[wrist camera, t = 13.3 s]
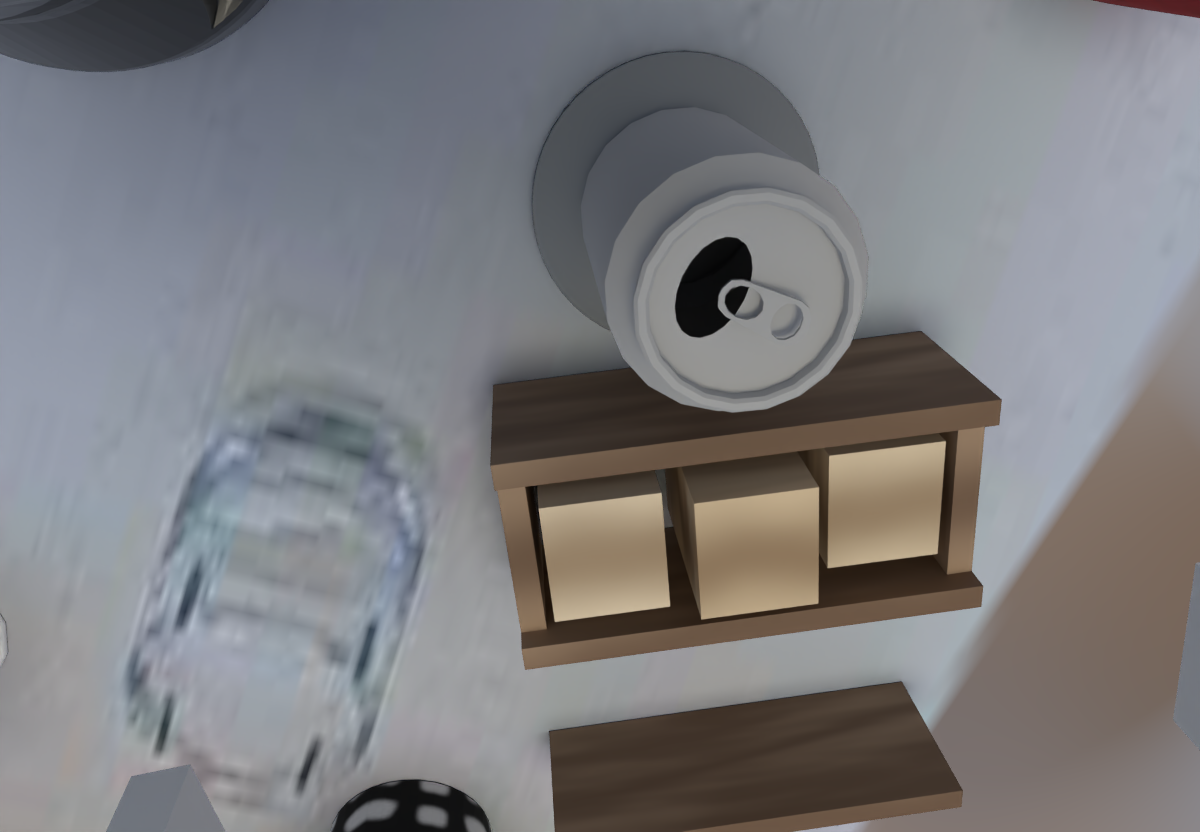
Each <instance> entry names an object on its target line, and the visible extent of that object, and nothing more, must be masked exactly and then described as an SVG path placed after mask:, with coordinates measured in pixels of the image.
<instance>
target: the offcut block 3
mask: <svg viewBox="0 0 1200 832" xmlns="http://www.w3.org/2000/svg"><path fill="white" fill-rule="evenodd" d="M945 447H946V441H945V440H944V439H943V438H942V436H941V435H940V434H939V433H934V434H927V435H919V436H911V437H904V438H896V439H888V440H881V441H873V442H865V443H858V444H850V445H842V446H835V447H827V448H819V449H812V450H804V451H797V452H798V454H799V455H800V457H801V459H802V460H803V462H804V463H805V465H806V467H807V468H808V470H809V472H810V473H811V475H812V477H813V478H814V480H815V481H816V483H817V485H818V486H819V553H820V555H821V557H822V559H823V561H824V563H825V564H826V566H827V568H834V567H841V566H849V565H856V564H864V563H871V562H879V561H887V560H894V559H902V558H909V557H917V556H925V555H932V554H937V553H938V540H939V527H940V514H941V500H942V487H943V474H944V461H945Z"/></svg>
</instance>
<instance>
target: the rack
mask: <svg viewBox="0 0 1200 832" xmlns="http://www.w3.org/2000/svg"><path fill="white" fill-rule="evenodd" d="M1001 401H1002V399H1000V398H999V397H998V396H997V395H996V394H995V393H993V392H992V391H991V390H990V389H989V388H987V387H986V386H985V385H984V384H983V383H982V382H980V381H979V380H978V379H977V378H976V377H975V376H973V375H972V374H971V373H970V372H969V371H968V370H966V369H965V368H964V367H963V366H962V365H961V364H959V363H958V362H957V361H956V360H955V359H954V358H952V357H951V356H950V355H949V354H948V353H946V352H945V351H944V350H943V349H942V348H941V347H939V346H938V345H937V344H936V343H935V342H934V341H932V340H931V339H930V338H929V337H928V336H927V335H925V334H924V333H923V332H922V331H919V332H911V333H903V334H895V335H887V336H879V337H871V338H863V339H855V340H852V342H851V344H850V346H849V348H848V349H847V350H846V352H845V353H844V354H843V356H842V357H841V358H840V360H839V361H838V362H837V363H836V365H835V366H834V367H833V369H832V370H831V371H830V373H829V374H828V375H827V376H825V377H824V378H823V379H821V380H820V381H819V382H818V383H816V384H815V385H814V386H812V387H811V388H810V389H808V390H807V391H806V392H804V393H803V394H802V395H800V396H799V397H796V398H794V399H791V400H788V401H786V402H783V403H781V404H778V405H776V406H773V407H771V408H768V409H763V410H753V411H743V412H734V413H732V412H727V411H715V410H710V409H705V408H700V407H694V406H689V405H684V404H680V403H679V402H677V401H675V400H673V399H671V398H669V397H668V396H666V395H664V394H662V393H660V392H659V391H657V390H655V389H653V388H651V387H650V386H648V385H647V384H646V383H645V382H644V381H643V380H642V379H641V377H640V376H639V375H638V374H637V373H636V372H635V371H634V370H633V369H632V368H625V369H617V370H609V371H601V372H593V373H585V374H577V375H569V376H562V377H554V378H546V379H538V380H530V381H522V382H514V383H506V384H498V385H493V407H492V435H491V463H490V466H491V472H492V478H493V484H494V490H495V491H498V497H499V503H500V509H501V515H502V521H503V527H504V533H505V539H506V545H507V551H508V557H509V562H510V568H511V574H512V580H513V586H514V592H515V598H516V604H517V610H518V616H519V622H520V628H521V640H522V654H523V660H524V666H525V670H527V669H534V668H542V667H549V666H556V665H563V664H571V663H578V662H585V661H592V660H600V659H607V658H614V657H621V656H629V655H636V654H643V653H650V652H658V651H665V650H672V649H679V648H687V647H694V646H701V645H708V644H716V643H723V642H730V641H737V640H745V639H752V638H759V637H766V636H774V635H781V634H788V633H795V632H802V631H810V630H817V629H824V628H831V627H839V626H846V625H853V624H860V623H868V622H875V621H882V620H889V619H897V618H904V617H911V616H918V615H926V614H933V613H940V612H947V611H955V610H962V609H969V608H976V607H981V603H982V593H983V585H982V584H981V583H980V581H979V580H978V579H977V577H976V576H975V575H974V574H973V572H972V561H973V550H974V539H975V528H976V517H977V507H978V496H979V485H980V474H981V463H982V452H983V441H984V430H985V427H988V426H996V425H999V421H1000V411H1001ZM934 433H939V434H940V435H941V436H942V438H943V439H944V440H945V441H946V447H945V461H944V474H943V487H942V500H941V514H940V527H939V540H938V553H937V554H932V555H925V556H917V557H909V558H902V559H894V560H887V561H879V562H871V563H864V564H856V565H849V566H841V567H834V568H827V566H826V564H825V563H824V561H823V559H822V557H821V555H820V553H819V589H818V604H811V605H804V606H797V607H789V608H782V609H775V610H767V611H760V612H753V613H745V614H738V615H731V616H723V617H716V618H709V619H702V620H701V616H700V613H699V610H698V606H697V603H696V600H695V597H694V593H693V590H692V587H691V583H690V580H689V577H688V573H687V570H686V567H685V563H684V560H683V557H682V553H681V550H680V547H679V543H678V540H677V537H676V534H675V530H674V527H671V528H664V531H665V544H666V557H667V570H668V583H669V596H670V607H663V608H656V609H648V610H641V611H633V612H626V613H618V614H611V615H603V616H596V617H588V618H581V619H573V620H566V621H559V622H555V619H554V612H553V605H552V599H551V592H550V585H549V578H548V571H547V564H546V557H545V550H544V544H543V545H542V543H541V536H540V530H539V523H538V516H537V509H536V503H535V496H534V489H533V486H535V485H543V484H551V483H558V482H566V481H574V480H581V479H589V478H597V477H604V476H612V475H620V474H627V473H635V472H643V471H650V470H658V469H666V468H673V467H681V466H689V465H696V464H704V463H712V462H719V461H727V460H735V459H743V458H750V457H758V456H766V455H773V454H781V453H789V452H796V451H804V450H812V449H819V448H827V447H835V446H842V445H850V444H858V443H865V442H873V441H881V440H888V439H896V438H904V437H911V436H919V435H927V434H934ZM549 734H550V752H551V771H552V789H553V807H554V825H555V832H793V831H800V830H807V829H814V828H821V827H828V826H834V825H841V824H848V823H855V822H862V821H869V820H875V819H882V818H889V817H896V816H902V815H910V814H916V813H923V812H930V811H937V810H943V809H950V808H957V807H961V804H962V795H963V790H962V788H961V787H960V785H959V783H958V781H957V779H956V777H955V776H954V774H953V772H952V771H951V769H950V767H949V765H948V763H947V761H946V760H945V758H944V756H943V754H942V753H941V751H940V749H939V747H938V745H937V744H936V742H935V740H934V738H933V736H932V735H931V733H930V731H929V729H928V727H927V726H926V724H925V722H924V720H923V719H922V717H921V715H920V713H919V711H918V710H917V708H916V706H915V704H914V702H913V701H912V699H911V697H910V695H909V694H908V692H907V690H906V688H905V686H904V685H903V683H902V682H897V683H890V684H883V685H876V686H868V687H861V688H854V689H847V690H840V691H833V692H826V693H819V694H812V695H805V696H797V697H790V698H783V699H776V700H769V701H762V702H755V703H748V704H741V705H734V706H726V707H719V708H712V709H705V710H698V711H691V712H684V713H677V714H670V715H662V716H655V717H648V718H641V719H634V720H627V721H620V722H613V723H606V724H599V725H591V726H584V727H577V728H570V729H563V730H556V731H549Z"/></svg>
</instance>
